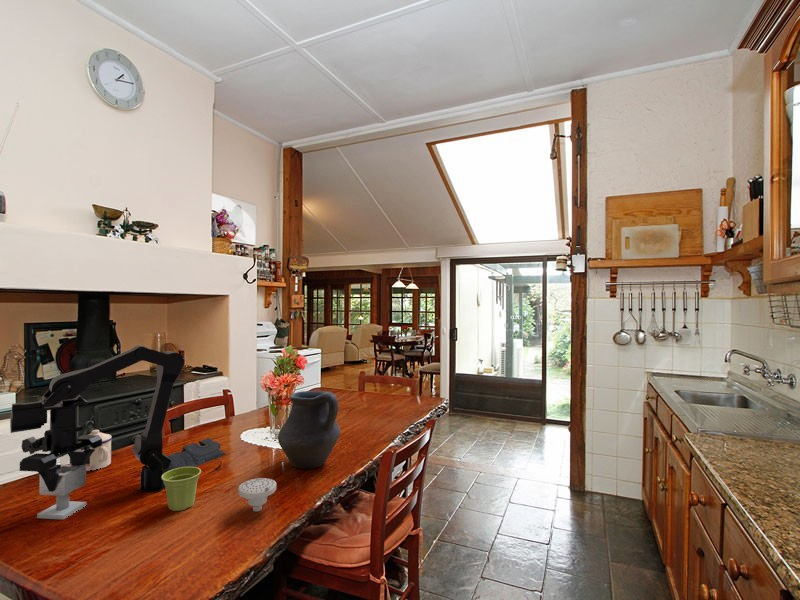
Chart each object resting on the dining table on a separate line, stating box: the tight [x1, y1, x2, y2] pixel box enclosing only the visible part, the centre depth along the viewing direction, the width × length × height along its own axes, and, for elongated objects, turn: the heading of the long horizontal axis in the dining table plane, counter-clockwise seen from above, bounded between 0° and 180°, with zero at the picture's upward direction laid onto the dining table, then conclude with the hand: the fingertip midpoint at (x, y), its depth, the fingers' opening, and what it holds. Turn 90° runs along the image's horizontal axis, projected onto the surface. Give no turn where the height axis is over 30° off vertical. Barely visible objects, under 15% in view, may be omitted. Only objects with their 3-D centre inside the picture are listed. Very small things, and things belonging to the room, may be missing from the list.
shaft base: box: [36, 493, 88, 520], centre depth 108 cm, size 7×7×6 cm
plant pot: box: [161, 466, 202, 512], centre depth 112 cm, size 9×9×9 cm
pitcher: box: [277, 390, 341, 470], centre depth 142 cm, size 21×22×25 cm
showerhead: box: [238, 477, 277, 512], centre depth 111 cm, size 9×7×10 cm
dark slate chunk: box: [166, 437, 227, 471], centre depth 145 cm, size 15×22×5 cm
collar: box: [38, 463, 87, 496], centre depth 108 cm, size 7×7×5 cm
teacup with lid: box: [85, 429, 113, 472], centre depth 137 cm, size 12×9×12 cm
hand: (63, 485), depth 108 cm, fingers closed on collar, 7 cm apart
